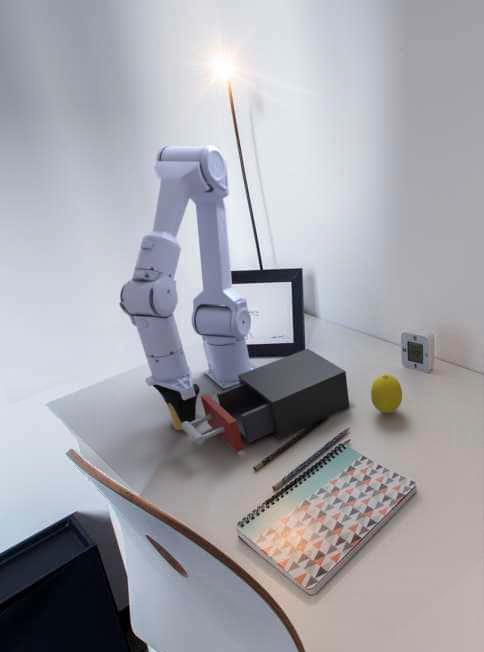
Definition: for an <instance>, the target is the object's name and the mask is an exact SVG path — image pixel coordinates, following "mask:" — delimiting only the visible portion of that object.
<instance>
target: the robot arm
mask: <svg viewBox="0 0 484 652" xmlns="http://www.w3.org/2000/svg"><path fill="white" fill-rule="evenodd" d="M153 168H154V172H155V174H156V177H157V179H158V182H159V188H158V193H157V200H156V206H155V214H154V219H153V227H152V231H151V232H149V233H147V234H146V235H144V236H143V237H142V239H141V243H140V245H139V250H138V254H137V258H136V261H135V265H134V269H133V273H132V276H131V279H129V280H128V281H127V282H126V283H124V284H123V285H122V287H121V289H120V294H119V299H120V302H119V303H118V304H119V305H118V306H119V307H120V309H121V310H122V312H123V313H124V314H125V315H127V316H128V317H129V319H130V322H131V325H133V326H135V327H136V329H137V332H138V336H139V339H140V343H141V345H142V348H143V352H144V354H145V357H146V361H147V365H148V368H149V370H150V373H151V374H150V376H148V377H146V378H145V380H144V381H145V383H146V384H147V386H149V387H153V388H154V389H156V390H157V391H158V392H159V394H160V395H161V398H162V399H163V400H164V402H165V403H166V405H167V406H168V403H170V404H171V405H172V407H173V408H174V410H175V412H176V414H177V416H178V418H179V420H180V421H181V423H183V422H185V421H188V422H189V423H190V422H192V421H194V420H195V419H196V416H197V413H196V411H197V409H196V408H197V407H196V406H197V401H198V396H199V394H200V391H201V389H200V386H199V385H198V384H197V383H193V384H192V372H191V371H192V370H191V368H190V367H189V364H188V362H187V358H186V354H185V350H184V347H183V344H182V339H181V336H180V333H179V328H178V325H177V322H176V317H175V315H174V312H175V311H176V308H177V305H178V300H179V298H178V297H179V296H178V292H177V281H176V280H175V276H176V271H177V268H178V263H179V260H180V255H181V252H182V247H181V245H180V243H179V242H178V240H177V235H178V232H179V230H180V228H181V224H182V221H183V219H184V216H185V212H186V210H187V207H188V204H189V201H190V200H191V201H192V202H193V203H194V204H195V212H196V223H197V235H198V246H199V257H200V268H201V269H200V270H201V279H202V280H201V281H202V290H201V292H199V293H198V294H197V295H196V296H195V297H194V298H193V299H192V304H193V307H192V314H191V319H190V320H191V326H192V329H193V331H194V333H196V335H198V336H201V338H202V341H203V342H202V346H203V347H202V348H203V351H204V354H205V359H206V362H207V367H208V369H206V370H205V371H204V373H205V374H206V375H207V377H209V378H210V379H211V380H212V381H214V382H215V383H216V384H217V386H219V387H220V388H222V389H223V390H226V389H229V388H231V387H234V386H237V385H239V384H240V383H239V378H238V375H240V374H243V373H245V372H248V371H250V370H253V369H255V368H254V367H252V364H251V360H250V356H249V350H248V345H247V340H246V336H247V335H248V334H249V332H250V330H251V327H252V318H251V317H252V316H251V314H250V311H249V309H248V308H249V307H248V303H247V298H245V296H243V295H242V294H240V293H239V292H237V291H236V290H235V289H234V288H233V281H232V268H231V267H232V265H231V254H230V240H229V239H230V238H229V227H228V214H227V213H228V212H227V199H226V197H228V196H229V195H230V191H229V176H228V164H227V160H226V158H225V157H224V156H223V154H222V153H221V151H220V150H219V149H218V148H217V147H216V146H214V145H206V146H202V145H201V146H171V145H163V146H161V147H160V148H158V150H157V153H156V158H155V164H154V167H153Z"/></svg>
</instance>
